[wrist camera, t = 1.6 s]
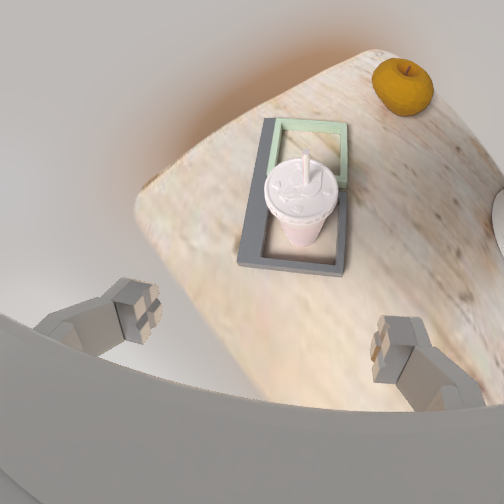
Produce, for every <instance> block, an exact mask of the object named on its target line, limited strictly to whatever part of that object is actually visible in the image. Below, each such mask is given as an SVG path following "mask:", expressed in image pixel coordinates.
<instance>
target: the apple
mask: <svg viewBox="0 0 504 504" xmlns="http://www.w3.org/2000/svg"><path fill="white" fill-rule="evenodd" d="M372 84H373V88H374V90H375V92H376V94H377V95H378V97H379V98H380V99H381V100H382V102H383V103H384V104H385V105H386V106H387V108H388V109H390V110H391V111H392V112H393V113H395V114H397V115H399V116H410V115H415V114H417V113H419V112H421V111H422V110H423V109H425V108H426V107H427V106H428V105H429V103H430V101H431V99H432V97H433V92H434V89H433V83H432V80H431V78H430V77H429V75H428V74H427V72H426V71H425V70H423V69H422V68H421V67H420V66H418V65H417V64H415V63H413V62H412V61H409V60H405V59H399V58H391V59H388V60H386V61H384V62H382V63H381V64H380V65H379V66H378V67H377V68H376V70H375V71H374V73H373V76H372Z"/></svg>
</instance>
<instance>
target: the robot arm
mask: <svg viewBox="0 0 504 504" xmlns="http://www.w3.org/2000/svg"><path fill="white" fill-rule="evenodd" d="M492 222H493V229H494V233H495V237H496V240H497V243H498V246H499V248H500V250H501V253H502V255H503V257H504V189H503V190H501V191H500V192H499V193H498V194H497V196H496V198H495V200H494V203H493V208H492ZM159 294H160V293H159V288H158V286H157V285H156V284H154V283H149V282H145V281H140V280H135V279H130V278H125V277H124V278H121V279H119V280H118V281H117V282H116V283H115V284H114V285H113V286H112V287H111V288H110V289H109V290H108V291H107V292H105V293H104V295H102V296H101V297H100V298H99V297H96V298H93V299H90V300H87V301H84V302H82V303H79V304H76V305H73V306H70V307H68V308H65V309H62V310H59V311H56V312H53V313H50V314H48V315H47V316H46V317H45V318H44V319H43V320H42V321H41V322H40V323H39V324H38V325H37V326H36V327H34V328H33V329H31V328H29V327H27V326H25V325H23V324H21V323H19V322H17V321H15V320H14V319H12V318H10V317H8V316H6V315H4V314H2V313H0V504H504V404H499V405H492V406H486V404H485V401H484V398H483V396H482V393H481V390H480V387H479V384H478V383H477V382H476V381H475V380H474V379H473V378H472V377H470V376H469V375H468V374H467V373H466V372H465V371H463V370H462V369H461V368H460V367H459V366H458V365H456V364H455V363H454V362H453V361H452V360H451V359H449V358H448V357H447V356H446V355H445V354H443V353H442V352H441V351H440V350H439V349H438V348H436V347H432V345H431V342H430V339H429V337H428V334H427V331H426V329H425V326H424V324H423V321H422V319H421V318H420V317H400V316H387V315H381V317H380V318H379V321H378V324H377V325H378V330H379V331H377V332H376V333H375V334H374V336H373V339H372V343H371V349H370V355H371V360H372V361H373V362H374V365H373V367H372V372H373V381H374V383H387V384H396V386H397V388H398V389H399V390H400V392H401V393H402V394H403V396H404V397H405V398H406V400H407V401H408V402H409V404H410V405H411V406H412V408H413V409H414V410H415V412H366V411H346V410H333V409H321V408H312V407H303V406H295V405H287V404H280V403H273V402H267V401H261V400H255V399H249V398H244V397H238V396H233V395H228V394H223V393H219V392H213V391H210V390H205V389H201V388H197V387H193V386H189V385H185V384H181V383H177V382H174V381H170V380H166V379H163V378H159V377H156V376H152V375H149V374H146V373H143V372H140V371H136V370H133V369H130V368H127V367H124V366H121V365H118V364H115V363H113V362H110V361H107V360H104V359H102V358H99V357H98V356H99V355H101V354H103V353H105V352H106V351H108V350H110V349H112V348H113V347H115V346H117V345H118V344H120V343H122V342H124V340H127V341H131V342H135V343H139V344H142V345H143V344H144V343H145V342H146V340H147V339H148V337H149V336H150V335H151V331H150V329H152V328H154V327H156V326H157V325H158V323H159V322H160V319H161V315H162V305H161V303H160V301H159V300H158V299H157V297H158V295H159Z"/></svg>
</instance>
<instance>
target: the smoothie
mask: <svg viewBox="0 0 504 504" xmlns="http://www.w3.org/2000/svg"><path fill="white" fill-rule="evenodd" d="M264 192H265V200H266V204H267V206H268V208H269V209H270V211H271V212H272V214H273V215H275V216H276V217H277V218H278V220H279V222H280V224H281V226H282V228H283V230H284V232H285V234H286V236H287V238H288V240H289V241H290V242H291V243H292V244H293V245H295V246H298V247H306V246H309V245H311V244H312V243H314V242H315V240H316V239H317V237H318V235H319V233H320V230H321V228H322V226H323V224H324V222H325V220H326V217H327V216H328V215H329V214H330V213H331V212H332V211H333V209H334V208H335V206H336V203H337V198H338V184H337V180H336V178H335V176H334V174H333V173H332V172H331V170H330V169H329V168H328V167H326V166H325V165H324V164H322V163H320V162H318V161H316V160H313V159H310V151H309V150H308V149H304V150H303V151H302V158H293V159H289V160H286V161H283V162H281V163H280V164H278V165H277V166H275V167H274V168H273V169H272V170H271V172H270V173H269V174H268V176H267V178H266V181H265V186H264Z"/></svg>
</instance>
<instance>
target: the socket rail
mask: <svg viewBox="0 0 504 504" xmlns="http://www.w3.org/2000/svg"><path fill="white" fill-rule="evenodd" d="M282 130H297V131H312V132H324V133H335V134H340V176H339V175H334V176H335V178H336V180H337V184H338V188H345V189H346V186H347V123H340V122H329V121H317V120H303V119H283V118H264V123H263V128H262V133H261V138H260V143H259V148H258V153H257V158H256V163H255V168H254V173H253V178H252V183H251V189H250V194H249V199H248V204H247V209H246V215H245V220H244V225H243V230H242V236H241V241H240V246H239V252H238V257H237V263H238V265H239V266H244V267H252V268H261V269H270V270H278V271H287V272H296V273H305V274H314V275H324V276H333V277H342V275H343V267H344V253H345V237H346V215H347V192H340V191H338V198H337V203H336V204H339V211H338V230H337V245H336V258H335V265H327V264H318V263H308V262H299V261H290V260H281V259H271V258H262V257H263V251H264V244H265V238H266V232H267V225H268V219H269V213H270V209H269V208H268V206H267V204H266V200H265V192H264V186H265V181H266V178H267V176H268V174H269V173H270V172H271V170H272V169H273V168H274V167H275V166H277V161H278V154H279V148H280V141H281V134H282Z"/></svg>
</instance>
